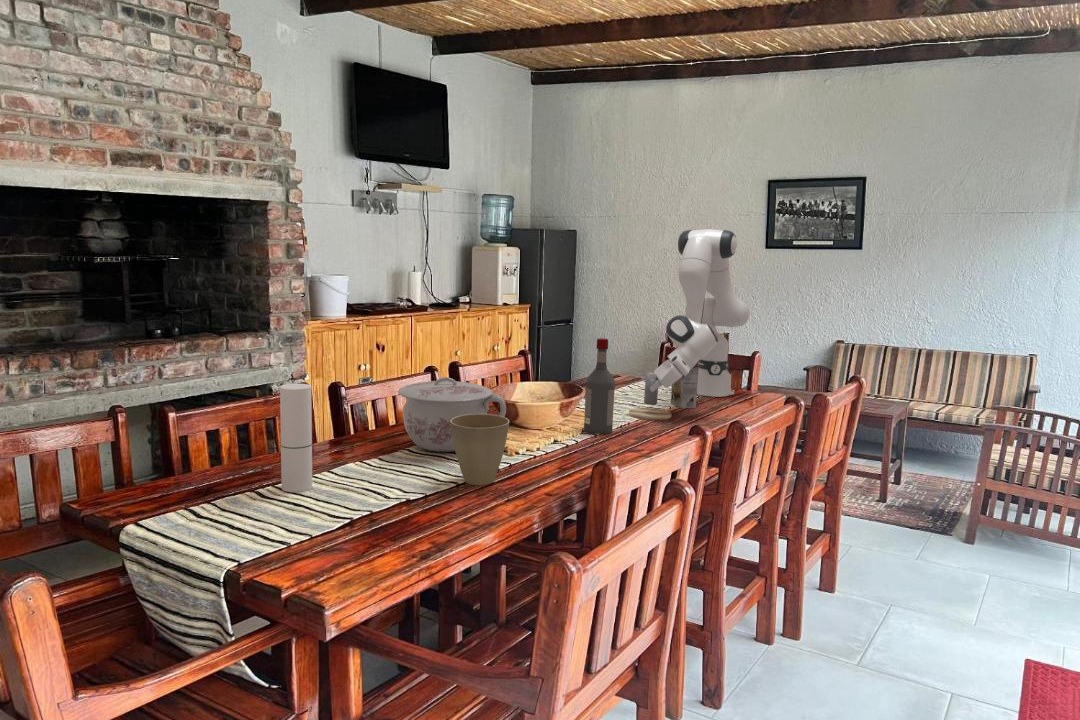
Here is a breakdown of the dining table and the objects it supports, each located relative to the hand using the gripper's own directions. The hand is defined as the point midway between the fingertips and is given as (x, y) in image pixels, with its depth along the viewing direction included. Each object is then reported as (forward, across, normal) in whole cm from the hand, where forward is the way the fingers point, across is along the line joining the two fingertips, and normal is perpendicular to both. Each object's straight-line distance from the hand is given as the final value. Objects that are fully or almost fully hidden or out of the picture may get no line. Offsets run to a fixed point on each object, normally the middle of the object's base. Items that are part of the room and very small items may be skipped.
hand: (649, 388), depth 284 cm
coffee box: (-4, -19, +18) cm, 26 cm away
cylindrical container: (+74, +94, -59) cm, 134 cm away
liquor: (+20, +25, -6) cm, 33 cm away
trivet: (+6, 0, +7) cm, 10 cm away
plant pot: (+44, +83, -29) cm, 98 cm away
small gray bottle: (+3, 0, +4) cm, 5 cm away
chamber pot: (+53, +52, -38) cm, 84 cm away
